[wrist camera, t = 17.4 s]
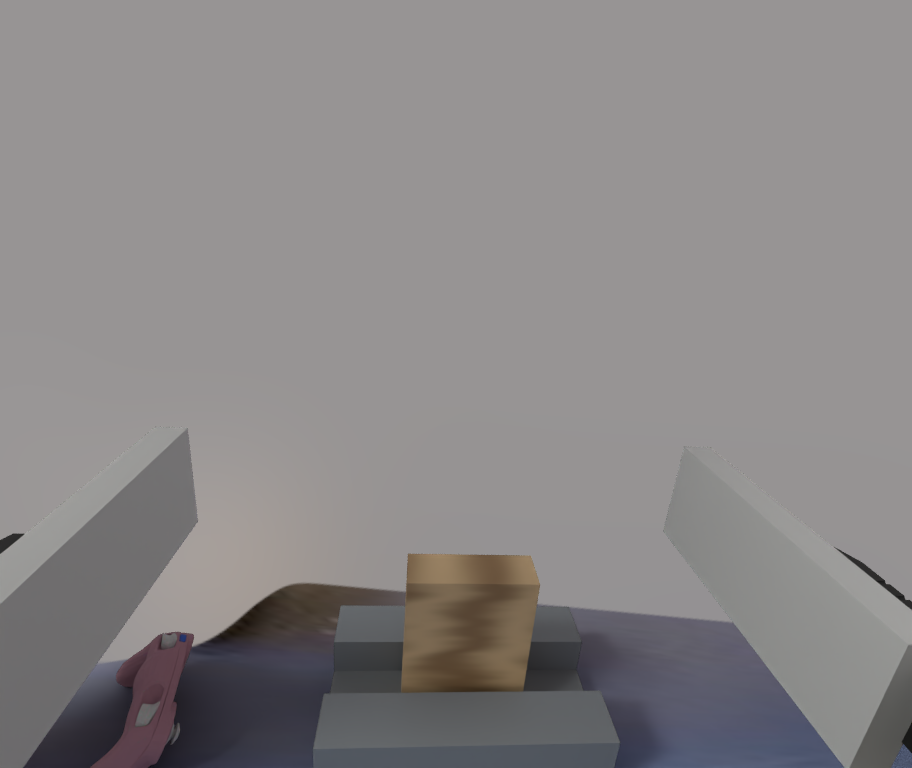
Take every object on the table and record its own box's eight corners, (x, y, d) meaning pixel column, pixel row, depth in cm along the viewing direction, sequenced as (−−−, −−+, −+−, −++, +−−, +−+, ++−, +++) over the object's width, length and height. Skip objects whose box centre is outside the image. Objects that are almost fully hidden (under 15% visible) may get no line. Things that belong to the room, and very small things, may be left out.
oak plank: (400, 714, 37) (407, 583, 33) (401, 678, 40) (407, 553, 36) (519, 713, 38) (540, 584, 34) (512, 678, 40) (530, 555, 36)
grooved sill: (314, 797, 32) (312, 749, 31) (341, 646, 44) (341, 605, 42) (608, 788, 34) (620, 742, 33) (561, 645, 46) (568, 606, 44)
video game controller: (143, 815, 32) (187, 734, 31) (62, 812, 30) (107, 726, 29) (175, 682, 41) (211, 616, 40) (115, 674, 39) (150, 604, 38)
